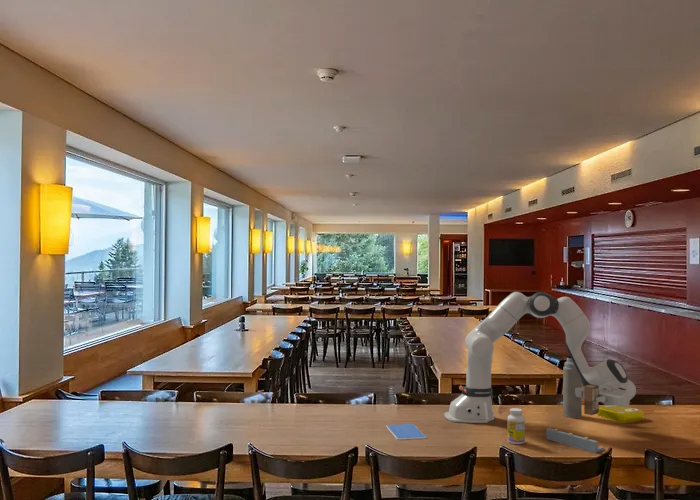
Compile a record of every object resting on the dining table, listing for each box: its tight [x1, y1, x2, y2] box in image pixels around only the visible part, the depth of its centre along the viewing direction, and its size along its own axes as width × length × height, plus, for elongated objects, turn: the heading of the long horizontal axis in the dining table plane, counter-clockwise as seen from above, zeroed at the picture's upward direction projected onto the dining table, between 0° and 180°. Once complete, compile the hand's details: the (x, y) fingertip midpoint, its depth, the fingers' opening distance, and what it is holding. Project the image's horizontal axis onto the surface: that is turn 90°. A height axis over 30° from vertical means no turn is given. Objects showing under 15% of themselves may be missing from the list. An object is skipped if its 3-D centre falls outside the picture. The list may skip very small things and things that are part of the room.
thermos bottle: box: [562, 354, 583, 419], centre depth 264 cm, size 8×8×28 cm
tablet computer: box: [385, 423, 428, 441], centre depth 235 cm, size 19×13×1 cm, turn 11°
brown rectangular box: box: [583, 384, 600, 416], centre depth 227 cm, size 6×3×11 cm, turn 128°
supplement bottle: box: [506, 407, 526, 445], centre depth 223 cm, size 7×7×13 cm
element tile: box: [596, 405, 645, 424], centre depth 262 cm, size 15×15×5 cm
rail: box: [545, 427, 605, 454], centre depth 222 cm, size 6×21×5 cm, turn 36°
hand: (590, 398), depth 227 cm, fingers closed on brown rectangular box, 3 cm apart
